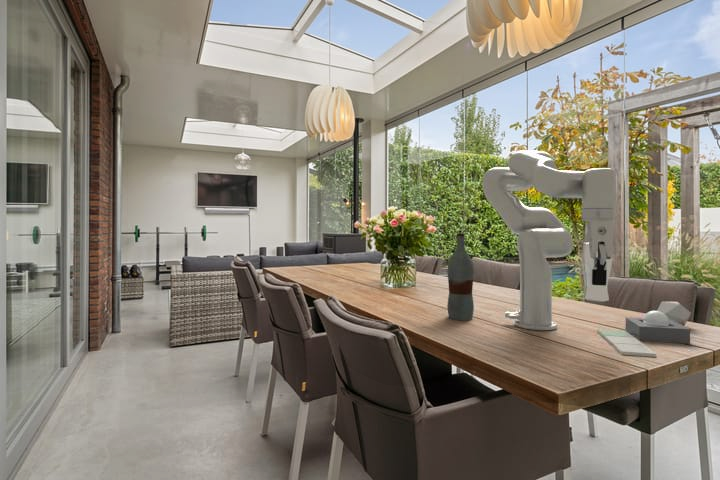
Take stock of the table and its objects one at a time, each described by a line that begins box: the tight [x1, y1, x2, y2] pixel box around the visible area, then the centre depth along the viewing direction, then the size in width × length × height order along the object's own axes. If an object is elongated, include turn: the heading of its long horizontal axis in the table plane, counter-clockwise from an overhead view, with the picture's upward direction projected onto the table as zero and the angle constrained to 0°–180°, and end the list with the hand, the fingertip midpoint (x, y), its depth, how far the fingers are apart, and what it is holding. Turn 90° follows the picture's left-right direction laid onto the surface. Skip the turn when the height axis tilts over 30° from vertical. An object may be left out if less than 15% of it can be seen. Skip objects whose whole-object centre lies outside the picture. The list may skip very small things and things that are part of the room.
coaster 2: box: [603, 336, 645, 347], centre depth 113 cm, size 8×8×1 cm
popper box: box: [624, 316, 691, 345], centre depth 119 cm, size 12×12×4 cm
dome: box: [643, 310, 669, 326], centre depth 119 cm, size 6×6×6 cm
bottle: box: [446, 232, 475, 321], centre depth 145 cm, size 9×9×30 cm
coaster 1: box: [596, 328, 634, 338], centre depth 121 cm, size 8×8×1 cm
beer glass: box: [581, 242, 613, 302], centre depth 109 cm, size 7×7×15 cm
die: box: [656, 301, 692, 327], centre depth 132 cm, size 8×9×10 cm
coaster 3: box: [612, 343, 657, 358], centre depth 106 cm, size 8×8×1 cm
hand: (595, 282), depth 109 cm, fingers closed on beer glass, 6 cm apart
